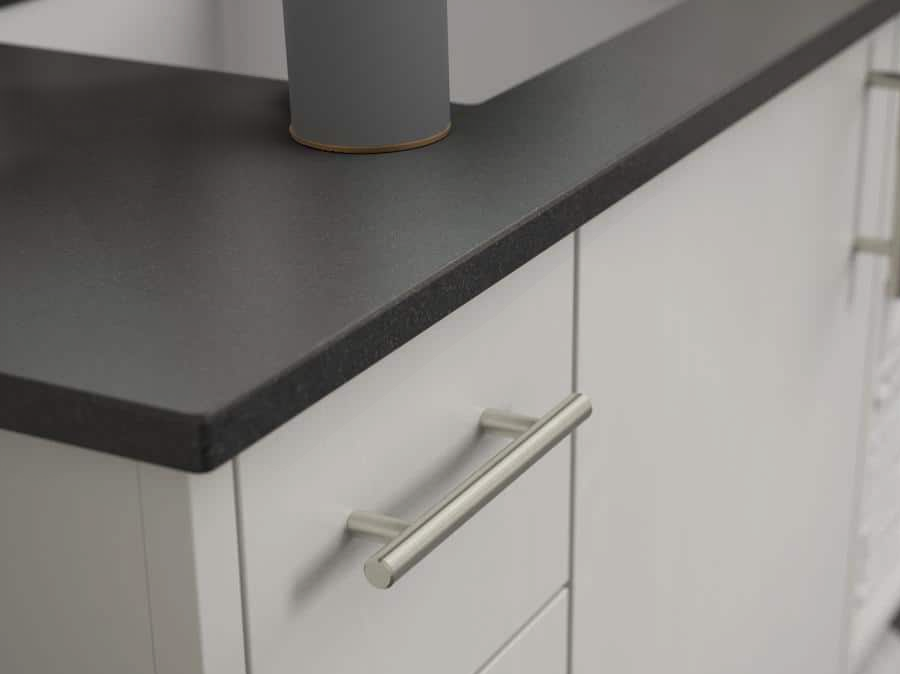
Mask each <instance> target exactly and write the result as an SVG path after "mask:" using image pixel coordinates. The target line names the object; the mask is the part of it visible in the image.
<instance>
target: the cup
mask: <svg viewBox="0 0 900 674" xmlns="http://www.w3.org/2000/svg"><path fill="white" fill-rule="evenodd" d="M281 2H282V16H283V28H284V29H283V30H284V41H285V43H284V44H285V56H286V57H285V58H286V66H287V67H286V68H287V69H286V70H287V81H288V95H289V109H290V121H291V122H290V123H291V124H292V128H293V129H294V131H295V132H296V133H297V134H298V136H299V137H302V138H305V139H308V140H311V141H315V142H318V143H321V144H329V145H340V146H350V147H366V146H390V145H397V144H403V143H408V142H414V141H419V140H424V139H427V138H429V137H431V136H434V135H436V134H438V133H441V132H443V131H445V130H446V128H447V126H448V124H449V123H450V121H451V95H450V90H451V89H450V59H449V58H450V57H449V26H448V25H449V22H448V21H449V20H448V0H281Z"/></svg>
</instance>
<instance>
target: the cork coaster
mask: <svg viewBox="0 0 900 674" xmlns="http://www.w3.org/2000/svg"><path fill="white" fill-rule="evenodd" d="M451 129H452V121H451V120H450V123H449V124H448V126H447V128H446V130H445V131H443V132H441V133H438V134H436V135H434V136H431V137H429V138H427V139H424V140H419V141H414V142H408V143H403V144H397V145H390V146H366V147H350V146H340V145H329V144H321V143H318V142H315V141H311V140H308V139H305V138H302V137H299V136H298V134H297V133H296V132H295V131H294V129H293V128H292V123H291V124H290V125H289V130H288V131H289V135H290V134H291V135H292V136H293V137H294V138H295V139H297V140H298V141H300V142H302V143H305V144H307V145H310V146H312V147H314V148H319V149H321V150H320V151H324V150H327V151H326V152H331V151H334V152H333V153H342V152H343V153H344V154H379V153H380V154H381V153H390V152H399V151H405V150H412V149H415V148H420V147H424V146H427V145H430V144H434V143H436V142H438V141H440V140H442V139H444V138H445V137H447V136H448V135H449V134H450V133H451ZM314 148H313V149H314ZM319 149H318V150H319ZM343 153H342V154H343Z"/></svg>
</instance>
